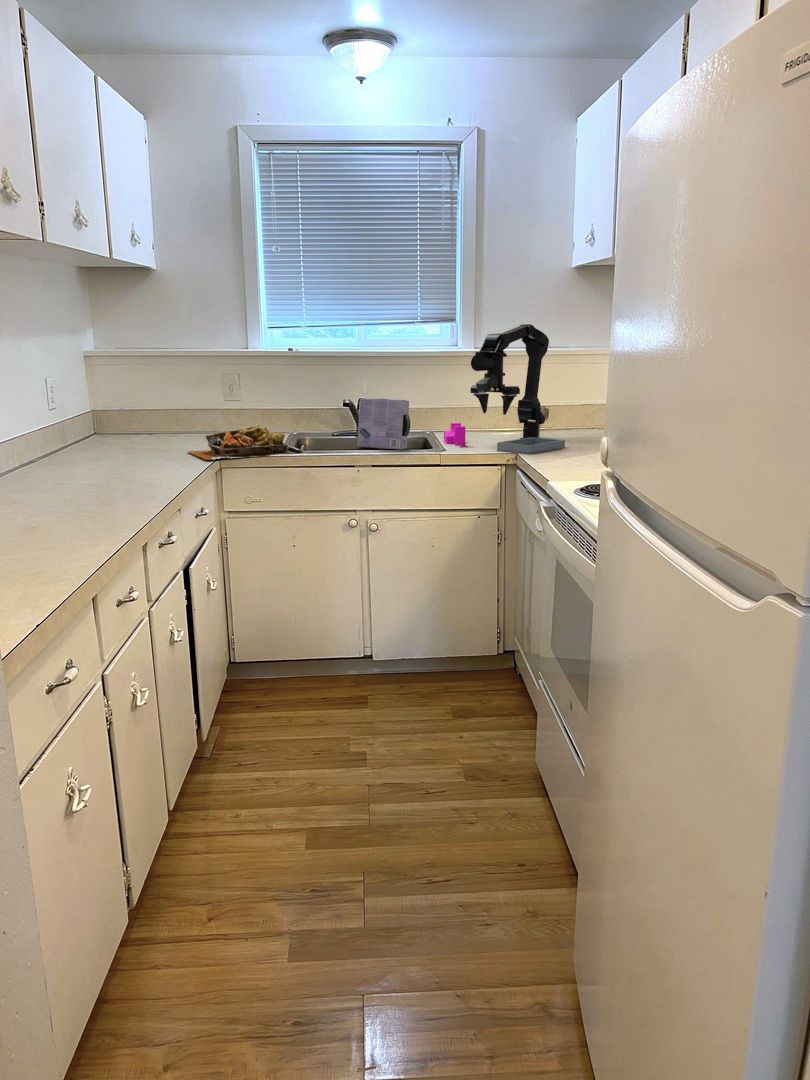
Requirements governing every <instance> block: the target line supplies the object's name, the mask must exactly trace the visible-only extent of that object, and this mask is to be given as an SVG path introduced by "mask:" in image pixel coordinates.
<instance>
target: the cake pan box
mask: <svg viewBox="0 0 810 1080" xmlns="http://www.w3.org/2000/svg"><path fill="white" fill-rule="evenodd" d="M409 407H410V401H409V400H405V399H390V398H389V399H388V398H362V397H360V398H359V409H358V410H359V411H358V434H357V447H358V448H371V449H384V450H385V449H387V450H388V449H389V450H401V451H402V450H403V451H404V450H407V449H408V436H409V433H410V430H411V419H410V415H409V410H410V409H409Z"/></svg>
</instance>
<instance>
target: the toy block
mask: <svg viewBox="0 0 810 1080" xmlns="http://www.w3.org/2000/svg"><path fill="white" fill-rule="evenodd" d="M449 425H450V428H449V429H450V430H444V431H443V443H444V444H445V445H454V446H459V448H466V426H465V425H462V423H461V422H450V424H449Z"/></svg>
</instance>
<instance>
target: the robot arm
mask: <svg viewBox="0 0 810 1080" xmlns="http://www.w3.org/2000/svg"><path fill="white" fill-rule="evenodd" d="M519 340H521V342H522V343H523V344H524V345H525V352H526V355H527V357H528V360H527V361H528V363H527V372H526V378H525V388H524V395H523V397H522V398H521V399H519V400H518V401H517V409H516V411H517V417H518V423H519V424H523V428H522V437H519V439H524V438H531V437H535V438H540V433H541V431H540V429H541V428H540V427H541V425H544V424H545V422H546V421H545V420H546V417H545V416H544V414H543V412H542V410H541V409H542V408H541V401H540V400H539V398H538V393H539V386H540V379H541V371H542V370H541V369H542V361H543V358H544V356H545V355H546V354H547V352H548V348H549V344H550V340H549V337H548V335H547V334H546V333H544V332H543V331H541V330H539V329H538V328H536V327H535V326H534V325H533V324H530V323H527V324H525V323H523V324H519V326H517V327H514V328H511V329H509V330H506V331H504V332H500V333H499V332H498V333H491V334H490V333H489V334H486V336H485V339H483V343H482V345H481V347H480V349H479V351H478V350H477V351H475V352H474V353H475V355H473V356H472V358H471V360H470V367H471V368H472V370H473V371H475V372H485V373H484V377H483V378H481V379H480V380H478V381H476V382H475V384H473V385H471V387H470V394H472V395H473V397H474V396H475V397H476V398H477V399H478V402H479V404H480V407H481V410H482V413H483V414H486V413H487V409H488V403H489V396H490V395H489V393H501V394H502V395H500V397H501V399H502V414H503V415H504V416H505V415H507V412H508V411H509V409H510V406H511V405H512V402H513V401H514V400H515V397H518V395H520V394H521V389H520V387H519V386H517V385H508V386H506V384H504V377H505V376H506V372H504V358H506V357H508V355H507V354H506V352H505V351H504V350H506V349H508V348H509V346H510V344H512V343H513V342H517V341H519Z"/></svg>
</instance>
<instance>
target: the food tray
mask: <svg viewBox="0 0 810 1080" xmlns="http://www.w3.org/2000/svg"><path fill="white" fill-rule="evenodd" d="M285 435H286V433H282V432H277V433H276V434H275V433H274V432H272V431H269V430H268V427H264V428H263V427H262V426H261V423H258V424H254V425H248V426H244V427H241V428H238V429H237V430H229V431H224V432H219V433H213V434H208V435H205V439H206V440H207V442H208V444H207V447H209V448H210V449H205V450H189V451H186V452H187V453H190V454H192V455H193V456H196V457H199V458H202V459H203V460H206V461H210V460H214V461H215V460H216V459H219V460H220V459H221V458H222V459H235V458H237V459H239V458H258V457H259V458H261V457H268V456H269V457H271V456H273V455H278V454H279V455H280V454H287V453H290V452H294V453H299V454H300V453H303V452H304V447H305V445H302V446H301V447H300V449H299V448H297V447H294V446H293V447H292V446H291V445H289V444H288V443H286V442H284V440H285V437H286V436H285Z"/></svg>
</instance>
